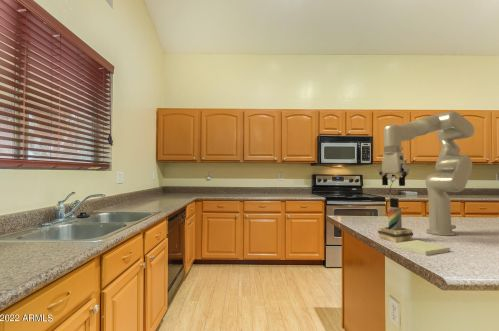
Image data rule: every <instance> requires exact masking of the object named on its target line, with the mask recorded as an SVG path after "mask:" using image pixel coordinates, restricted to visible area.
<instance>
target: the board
mask: <svg viewBox="0 0 499 331" xmlns="http://www.w3.org/2000/svg"><path fill="white" fill-rule="evenodd" d="M394 247H395V248H399V249H402V250H405V251H409V252H412V253H413V252H414V253H416V254H419V255H423V256H429V255H430V256H431V255H436V254H442V253H443V254H444V253H448V252H449V253H450V252H451V248H450V247H449V246H445V245H442V244H441V245H440V244H436V243H431V242H427V241H423V240H420V239H415V240H411V241H404V242H394Z"/></svg>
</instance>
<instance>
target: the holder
mask: <svg viewBox="0 0 499 331" xmlns="http://www.w3.org/2000/svg"><path fill="white" fill-rule="evenodd" d="M377 233H378V238H379V239H382V240H386V241H389V242H392V243H393V242H394V243H399V242H407V241H413V236H414V232H413V229H409V228H406V227H402V230H399V231H395V230H390V229H389V228H388V226H384V227H383V226H381V227H378V230H377Z"/></svg>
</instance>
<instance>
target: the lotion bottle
mask: <svg viewBox="0 0 499 331" xmlns="http://www.w3.org/2000/svg"><path fill="white" fill-rule="evenodd" d="M399 201H400V200H399V198H398V197H390V198H389V207H387V224H388V225H387V227H388V228H389V229H390V230H395V231H399V230H402V228H403V224H402V208H401V207H400V202H399Z"/></svg>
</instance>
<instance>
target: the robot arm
mask: <svg viewBox="0 0 499 331" xmlns="http://www.w3.org/2000/svg"><path fill="white" fill-rule="evenodd" d="M435 132H436V135H437V136H436V137H437V140H438V141H439V143H440V146H441V147H440V148H441V150H440V152H439V155H438V157H437V159H436V162H435V167H434V168H435V170H436V172H435V173H430V174H428V175H427V176H426V178H425V185H426V189H427V196H428V197H427V198H428V220H429V225H428V226H429V228H427V229H426V230H425V232H426V233H427V234H430V235H431V234H432V235H434V236H435V235H437V236H455V235H456V231H453V230H454V229H457V225H456V224H452V213H451V212H452V208H451V206H452V204H451V198H450V195H449V194H448V193H449V192H451V193H459V192H462V191H463V190H464V189H465V188H466V186H467V184H468V181H469V178H470V176H471V173H472V170H473V161H472V159H471V157H470V156H468V155H465V154H461V148H460V146H459V145H458V144H457V143H456V142H455V141H456V140H463V139H468V138H471V137H472V136H473V135H474V134H475V127H474V125H473V123H472V122H470V121H469V120H468V119H467V118H465V117H464V116H463V115H462V114H460V113H459V112H457V111H454V110H450V111H444V112H439V113H436V114H432V115H430V116H429V115H428V116H426V117H423V118H419V119H417V120H416V119H415V120H414V121H411V122H407V123H404V124H401V125H398V124H390V125H386V126H384V128H383V155H382V160H381V166H380V167H379V168H377V171H378V173H379V175H380V178H381V184H382V186H388V185H389V184H388V183H389V177H388V175H389V174H395V175H396V174H397V175H398V176H399V177H398V186H399V187H405V186H406V178H407V176H408V174H409V172H410V170H411V168H410V167H409V166H407V165H406V160H405V155H404V152H402V151H403V149H404V148H403V146H402V142H406V141H412V140H414V139H415V138H416V137H421V136H425V135H428V134H431V133H435ZM454 140H455V141H454ZM447 192H448V193H447Z"/></svg>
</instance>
